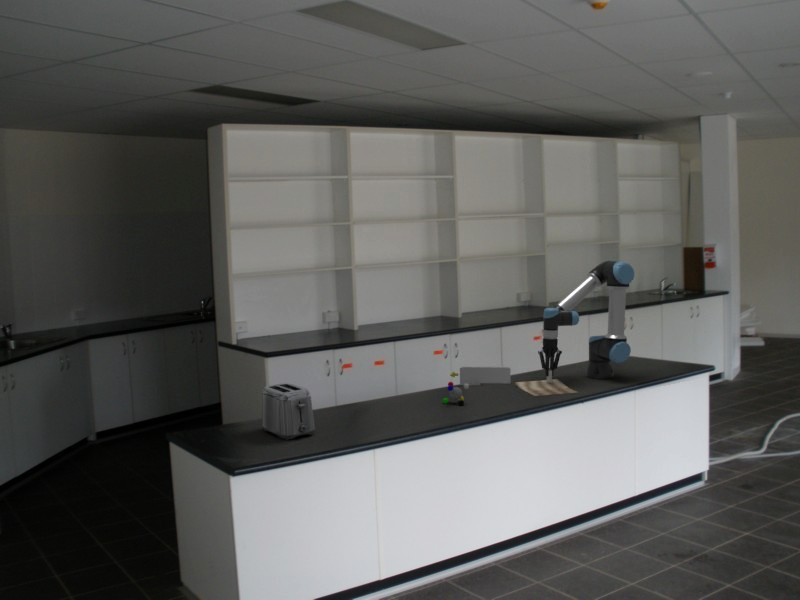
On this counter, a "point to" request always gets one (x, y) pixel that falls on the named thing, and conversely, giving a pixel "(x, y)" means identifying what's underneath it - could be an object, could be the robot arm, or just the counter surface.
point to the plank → (540, 385)
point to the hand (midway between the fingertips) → (549, 382)
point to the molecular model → (456, 393)
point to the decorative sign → (483, 375)
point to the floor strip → (552, 392)
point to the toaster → (287, 411)
